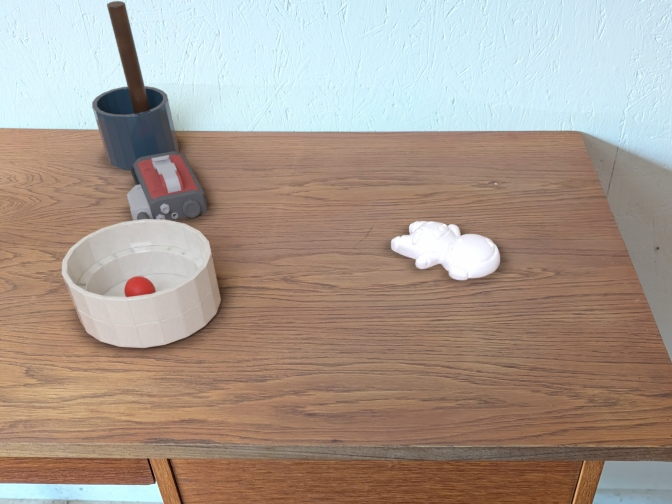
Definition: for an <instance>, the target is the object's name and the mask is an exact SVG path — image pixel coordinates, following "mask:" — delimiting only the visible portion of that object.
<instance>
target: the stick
mask: <svg viewBox="0 0 672 504" xmlns="http://www.w3.org/2000/svg"><path fill="white" fill-rule="evenodd" d="M106 7H107V11H108V15H109V19H110V23H111V27H112V31H113V35H114V39H115V44H116V46H117V51H118V55H119V59H120V63H121V67H122V70H123V74H124V79H125V82H126V87H128V90H129V94H130V98H131V102H132V106H133V110H134V114H137V113H141V112H145V111H148V110H150V107H149V102H148V98H147V94H146V90H145V86H146V85H145V82H144V78H143V77H144V76H143V74H142V70H141V69H142V68H141V64H140V60H139V55H138V52H137V49H136V43H135V40H134V35H133V31H132V27H131V23H130V17H129V14H128V10H127V6H126V2H124V1H120V0H114V1H110V2H108V3H107V4H106Z"/></svg>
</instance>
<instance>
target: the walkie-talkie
mask: <svg viewBox="0 0 672 504" xmlns="http://www.w3.org/2000/svg"><path fill="white" fill-rule="evenodd" d="M130 174H131V176H132V178H133V181H134V184H135V185H134V186H133V187H132V188H131V189H130V190H129V191H128V193H127V194H126V199H127V202H128V203H127V204H128V206H129V210H130V214H131V218H132V221H134V220H142V219H160V220H170V221H175V220H179V219H183V218H191V219H194V218H197V217H199V216H200V215H203V214H207V213H208V210H209V209H208V199H207V196H206V193H205V192H204V189H203V188H202V186H201V184H200V181H199V180H198V178H197V176H196V174H195V172H194V171H193V169H192V167H191V165H190V162H189V161H188V159H187V157H186V155H185V154H182V153H180V152H179V153H178V152H176V151H172V152H166V153H161V154H155V155H149V156H144V157H140V158H138V159H137V160H136V161H135V163H134V164H133V167H132V168H131V170H130Z"/></svg>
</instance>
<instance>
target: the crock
mask: <svg viewBox="0 0 672 504" xmlns="http://www.w3.org/2000/svg"><path fill="white" fill-rule="evenodd" d="M145 90H146V94H147V98H148V102H149V107H150V110H148V111H145V112H141V113H137V114H134V110H133V106H132V102H131V98H130V94H129V90H128V86H122V87H116V88H112V89H109V90H107V91H104V92H102V93H100V94H99V95H97V96H95V98H94V99H93V101H92V102H91V108H92V112H93V115H94V118H95V122H96V125H97V128H98V132H99V135H100V139H101V142H102V145H103V149H104V152H105V155H106V159H107V161H108V162H109V164H110V165H111V166H113V167H115V168H117V169H121V170H124V171H131V168H132V167H133V164H134V163H135V161H136V160H137V159H138V158H140V157H144V156H149V155H155V154H161V153H166V152H172V151H176V152H178V153H180V146H179V143H178V138H177V133H176V129H175V124H174V120H173V115H172V110H171V106H170V105H171V104H170V100H169V96H168V94H167V93H166V92H165V91H164V90H162V89H160V88H157V87H153V86H147V85H145Z"/></svg>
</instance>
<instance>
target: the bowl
mask: <svg viewBox="0 0 672 504" xmlns="http://www.w3.org/2000/svg"><path fill="white" fill-rule="evenodd" d="M61 276H62V279H63V281H64V284H65V287H66V288H67V292H68V295H69V296H70V299H71V302H72V304H73V307H74V309H75V311H76V314H77V317H78V319H79V322H80V323H81V325H82V327H83V329H84V330H85V332H86V333H87V334H88V335H90V336H91V337H93V338H94V339H96V340H97V341H99V342H101V343H105V344H108V345H111V346H115V347H118V348H132V349H133V348H134V349H135V348H136V349H146V348H147V349H148V348H152V347H159V346H165V345H168V344H172V343H175V342H177V341H180V340H183V339H187V338H188V337H190V336H191V335H193V334H195V333H197V332H198V331H200V330H201V329H203V328H204V327H206V326H207V325H208V323H209V322H210V321H211V320H212V319H213V318H214V317H215V316H216V315H217V313H218V310H219V308H220V304H221V302H222V297H221V292H220V287H219V282H218V278H217V277H218V276H217V274H216V268H215V263H214V259H213V253H212V248H211V244H210V241H209V239H208V238H207V237H206V236H205V235H204V234H203V233H202V232H201V231H200V230H199V229H197V228H194V227H192V226H191V225H190V224H187V223H184V222H178V221H175V220H160V219H142V220H134V221H133V220H128V221H126V220H125V221H121V222H118V223H115V224H111V225H108V226H103V227H102V228H99V229H97V230H95V231H93V232H91V233H89V234H87V235H85V236H84V237H82V238H81V239H80V240H78V241H77V242H76V243H75V244H73V245H72V246H71V247H70V248H69V249H68V251H67V253H66V254H65V255H64V257H63V259H62V261H61ZM135 276H142V277H145V278H147V279H149V280H150V281H151V282H152V283H153V285H154V287H155V290H156V292H155V293H152V294H147V295H140V296H133V297H126V296H125V293H124V288H125V285H126V283H127V281H128V280H129V279H131V278H132V277H135Z"/></svg>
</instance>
